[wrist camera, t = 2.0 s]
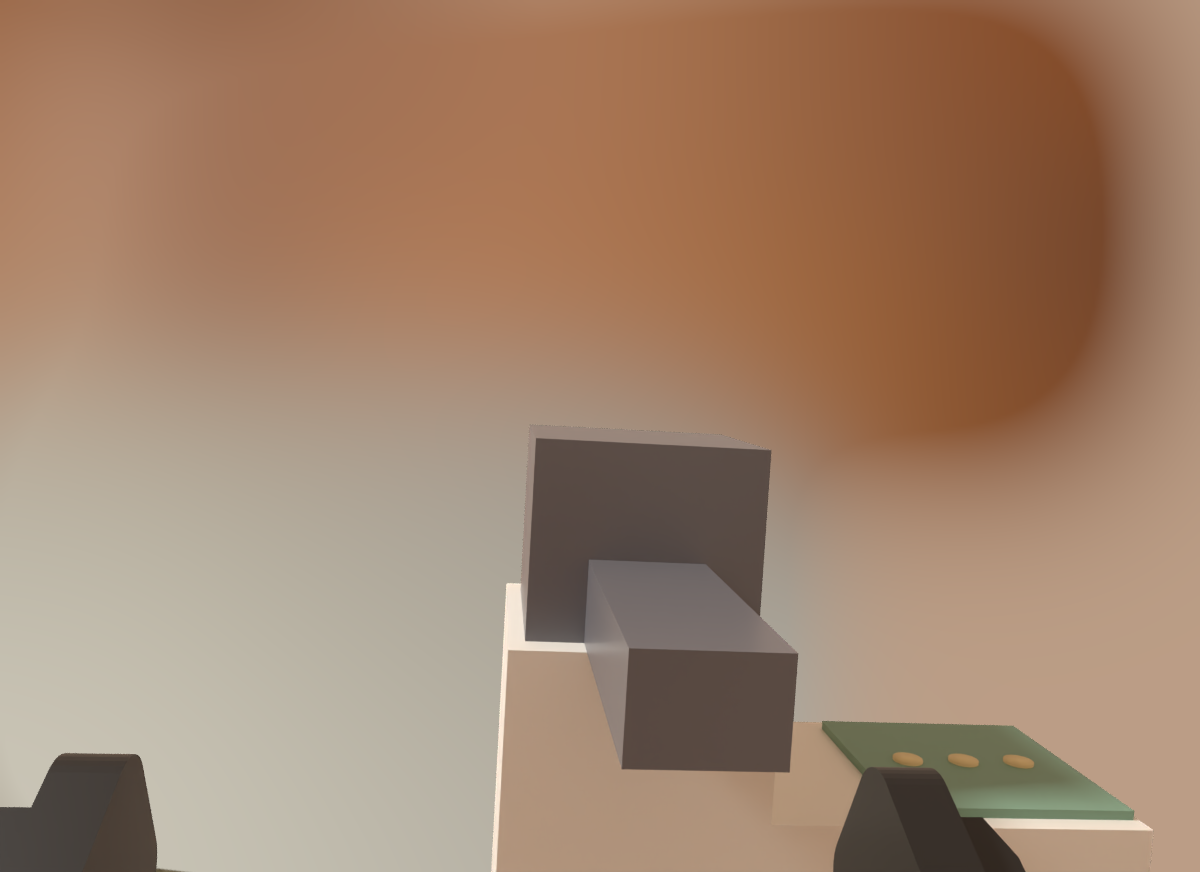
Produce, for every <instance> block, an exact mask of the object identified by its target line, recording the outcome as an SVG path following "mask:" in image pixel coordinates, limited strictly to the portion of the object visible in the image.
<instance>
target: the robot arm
mask: <svg viewBox="0 0 1200 872" xmlns="http://www.w3.org/2000/svg"><path fill="white" fill-rule="evenodd" d="M156 865H157V843H156V836H155V831H154V825H153V820H152V814H151V809H150V803H149V798H148V793H147V787H146V782H145V776H144V770H143V765H142V761H141V759H140V757H139V756H138V755H136V754H77V753H65V754H61V755H60V756H58V757H57V758H56V759H55V761H54V762H53V764H52V765H51V767H50V769H49V771H48V773H47V775H46V777H45V779H44V782H43V784H42V786H41V788H40V790H39V792H38V794H37V796H36V799H35V801H34V803H33V805H32V807H31V808H23V807H21V808H20V807H8V808H7V807H0V872H156ZM833 872H1026V871H1025V869H1024V867H1023V865H1022V863H1021V861H1020V859H1019V857H1018V856H1017V855H1016V854H1015V853H1014V852H1013V850H1012V849H1011V848H1010V847H1009V846H1008V845H1007V844H1006V843H1005V842H1004V840H1003V839H1002V838H1001V837H1000V836H999V835H998V834H997V833H996V832H995V831H994V829H993V828H992V827H991V826H990V825H989V824H988V823H987V822H986V821H985V820H984V818H983V817H961V816H960V814H959V812H958V810H957V807H956V805H955V803H954V801H953V798H952V796H951V794H950V792H949V789H948V787H947V785H946V783H945V781H944V779H943V778H942V776H941V775H940V774H939V773H938V772H937V771H936V770H935V769H933V768H921V767H869V768H867V769H866V770H865V772H864V773H863V775H862V777H861V780H860V783H859V785H858V788H857V791H856V794H855V796H854V799H853V802H852V804H851V807H850V810H849V812H848V815H847V818H846V821H845V823H844V826H843V829H842V831H841V834H840V837H839V839H838V842H837V845H836V848H835V853H834V861H833Z"/></svg>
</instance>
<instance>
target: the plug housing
mask: <svg viewBox="0 0 1200 872" xmlns="http://www.w3.org/2000/svg"><path fill="white" fill-rule="evenodd" d="M770 462H771V450H769V449H766V448H763V447H759V446H756V445H753V444H750V443H746V442H743V441H740V440H737V439H733V438H730V437H727V436H724V435H718V434H700V433H680V432H662V431H643V430H624V429H605V428H604V429H603V428H586V427H566V426H547V425H529V443H528V461H527V481H526V500H525V518H524V536H523V554H522V573H521V600H522V612H523V624H524V636H525V641H534V642H565V643H584V644H585V648H586V651H587V655H588V658H589V661H590V665H591V668H592V671H593V675H594V678H595V681H596V685H597V688H598V691H599V695H600V698H601V702H602V705H603V708H604V712H605V715H606V718H607V722H608V725H609V728H610V732H611V735H612V739H613V742H614V745H615V749H616V752H617V755H618V759H619V762H620V765H621V769H632V770H683V771H735V772H787V773H790V761H791V747H792V733H793V719H794V718H793V717H794V705H795V689H796V676H797V662H798V653H797V652H796V651H795V650H794V649H793V648H792V647H791V646H790V645H789V644H788V643H787V642H786V641H785V640H783V638H781V636H779V635H778V634H777V633H776V632H775V631H774V630H773V629H772V628H771V627H770V626H769V625H768V624H767V623H766V622H765V621H764V620H763V619H762V618H761V617H760V607H761V592H762V578H763V563H764V549H765V534H766V520H767V519H766V518H767V505H768V490H769V477H770Z"/></svg>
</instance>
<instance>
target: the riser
mask: <svg viewBox="0 0 1200 872" xmlns="http://www.w3.org/2000/svg"><path fill="white" fill-rule="evenodd" d="M869 767H921V768H933V769H935V770H936V771H937V772H938V773H939V774H940V775H941V776H942V778H943V779H944V781H945V783H946V785H947V787H948V789H949V792H950V794H951V796H952V798H953V801H954V803H955V805H956V807H957V810H958V812H959V814H960V816H961V817H983V818H984V820H985V821H986V822H987V823H988V824H989V825H990V826H991V827H992V828H993V829H994V831H995V832H996V833H997V834H998V835H999V836H1000V837H1001V838H1002V839H1003V840H1004V842H1005V843H1006V844H1007V845H1008V846H1009V847H1010V848H1011V849H1012V850H1013V852H1014V853H1015V854H1016V855H1017V856H1018V857H1019V859H1020V861H1021V863H1022V865H1023V867H1024V869H1025V871H1026V872H1150V863H1151V853H1152V842H1153V832H1154V831H1153V830H1152V829H1151V828H1149V827H1148V826H1147V825H1145V824H1144V823H1142V822H1141V821H1139V820H1138V819H1137V818H1135V817H1134V810H1132V809H1131V808H1129V807H1128V806H1126V805H1125V804H1123V803H1122V802H1121V801H1119V800H1118V799H1116V798H1115V797H1113V796H1112V795H1111V794H1109V793H1108V792H1106V791H1105V790H1104V789H1102V788H1101V787H1099V786H1098V785H1097V784H1095V783H1094V782H1092V781H1091V780H1089V779H1088V778H1087V777H1085V776H1083V775H1082V774H1081V773H1079V772H1078V771H1077V770H1075V769H1074V768H1072V767H1071V766H1069V765H1068V764H1067V763H1065V762H1064V761H1062V760H1061V759H1059V758H1058V757H1057V756H1055V755H1054V754H1052V753H1051V752H1050V751H1048V750H1047V749H1045V748H1044V747H1042V746H1041V745H1039V744H1038V743H1037V742H1035V741H1034V740H1032V739H1031V738H1029V737H1028V736H1027V735H1025V734H1024V733H1022V732H1021V731H1020V730H1018V729H1017V728H1015V727H1014V726H998V725H996V726H995V725H957V724H955V725H954V724H917V723H916V724H915V723H914V724H912V723H876V722H875V723H874V722H835V721H822V723H816V722H813V723H812V722H793V733H792V747H791V761H790V773H787V772H735V771H683V770H632V769H621V765H620V762H619V759H618V755H617V752H616V749H615V745H614V742H613V739H612V735H611V732H610V728H609V725H608V722H607V718H606V715H605V712H604V708H603V705H602V702H601V698H600V695H599V691H598V688H597V685H596V681H595V678H594V675H593V671H592V668H591V665H590V661H589V658H588V655H587V651H586V648H585V644H584V643H565V642H534V641H525V636H524V624H523V612H522V600H521V584H516V583H515V584H514V583H507V586H506V604H505V623H504V643H503V662H502V680H501V700H500V719H499V737H498V756H497V774H496V793H495V812H494V831H493V850H492V870H491V872H833V861H834V853H835V848H836V845H837V842H838V839H839V837H840V834H841V831H842V829H843V826H844V823H845V821H846V818H847V815H848V812H849V810H850V807H851V804H852V802H853V799H854V796H855V794H856V791H857V788H858V785H859V783H860V780H861V777H862V775H863V773H864V772H865V770H866V769H867V768H869Z"/></svg>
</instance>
